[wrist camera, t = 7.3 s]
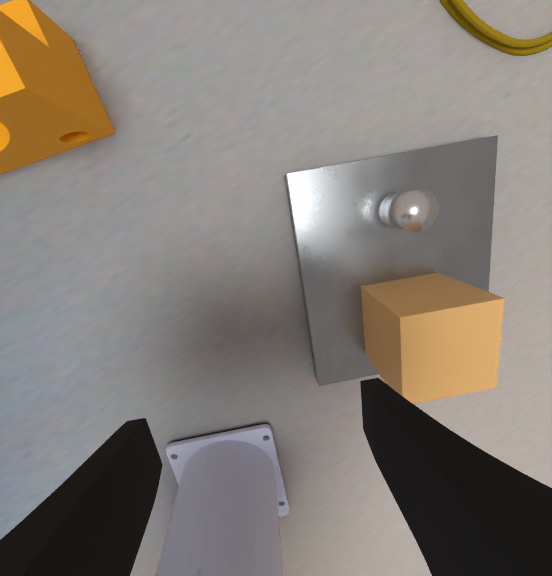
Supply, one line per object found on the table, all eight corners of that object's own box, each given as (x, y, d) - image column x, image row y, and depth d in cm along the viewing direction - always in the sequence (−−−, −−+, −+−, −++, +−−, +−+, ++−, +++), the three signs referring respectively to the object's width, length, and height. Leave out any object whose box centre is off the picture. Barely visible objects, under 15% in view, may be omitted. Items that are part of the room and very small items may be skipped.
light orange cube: (436, 342, 19) (496, 387, 15) (365, 355, 19) (402, 405, 14) (437, 272, 18) (504, 298, 13) (360, 286, 18) (399, 317, 13)
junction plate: (474, 345, 21) (523, 378, 17) (316, 377, 21) (330, 417, 17) (483, 139, 17) (551, 120, 13) (285, 175, 16) (294, 167, 13)
